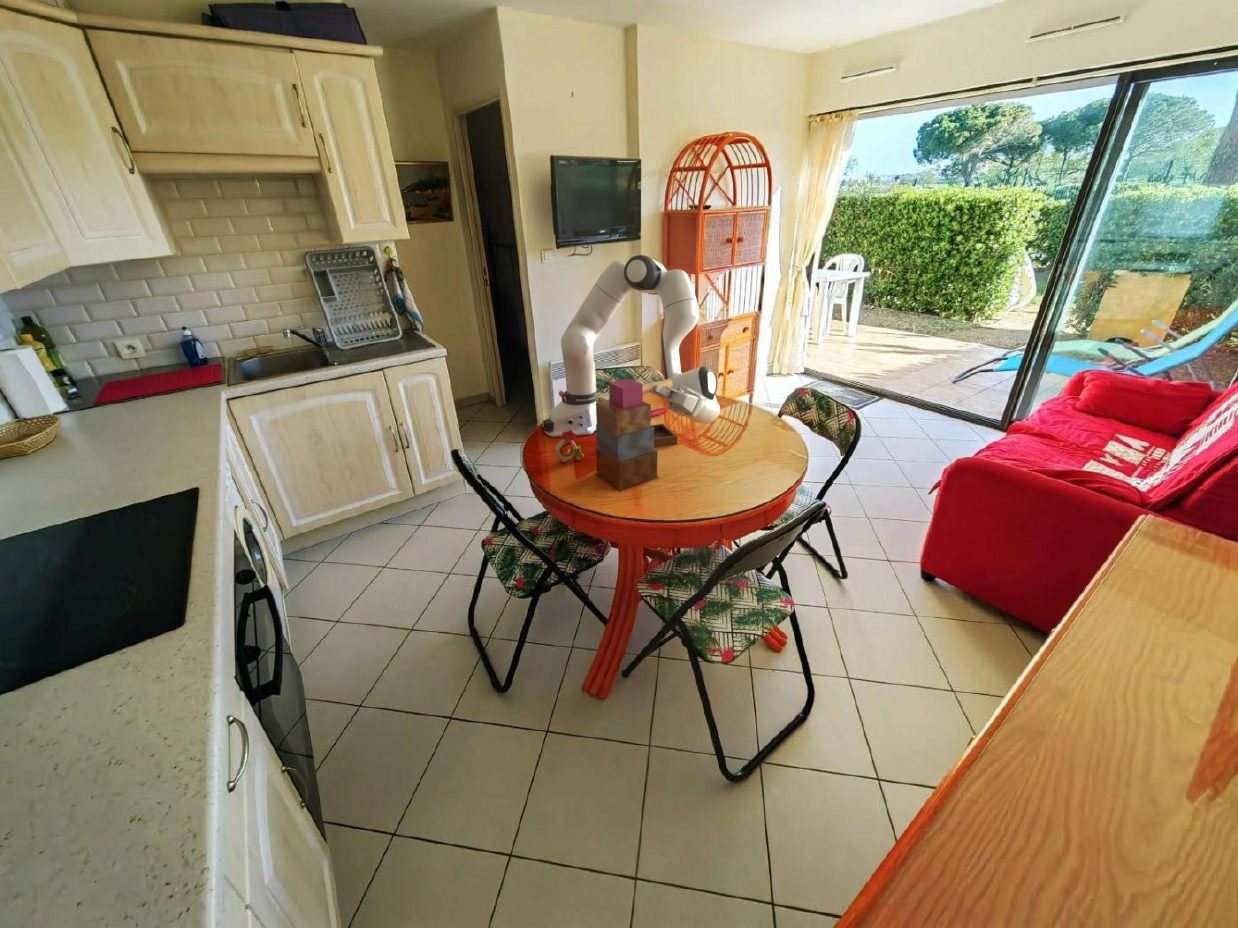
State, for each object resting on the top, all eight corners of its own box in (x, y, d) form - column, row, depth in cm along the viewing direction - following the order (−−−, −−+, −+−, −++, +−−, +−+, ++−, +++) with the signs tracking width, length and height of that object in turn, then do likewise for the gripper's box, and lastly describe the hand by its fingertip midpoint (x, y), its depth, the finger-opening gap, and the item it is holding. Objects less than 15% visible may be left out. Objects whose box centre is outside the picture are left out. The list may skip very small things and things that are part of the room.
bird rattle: (568, 471, 168) (590, 455, 170) (554, 446, 161) (576, 429, 163) (560, 464, 172) (581, 448, 175) (546, 439, 166) (568, 423, 168)
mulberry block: (662, 389, 160) (663, 370, 157) (677, 395, 154) (677, 376, 152) (609, 402, 150) (608, 382, 147) (622, 409, 145) (622, 388, 142)
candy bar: (663, 411, 210) (663, 404, 209) (668, 413, 208) (669, 406, 206) (631, 419, 203) (631, 412, 201) (636, 422, 200) (636, 414, 199)
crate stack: (633, 462, 168) (632, 392, 157) (657, 477, 158) (658, 404, 147) (596, 473, 161) (593, 401, 150) (619, 490, 151) (618, 414, 141)
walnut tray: (632, 450, 176) (632, 442, 175) (621, 437, 187) (621, 429, 185) (676, 443, 181) (677, 436, 179) (662, 430, 191) (663, 423, 190)
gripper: (665, 382, 168) (635, 368, 159) (707, 399, 153) (677, 384, 144) (657, 400, 169) (627, 387, 160) (698, 418, 154) (668, 405, 145)
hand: (651, 386), depth 152 cm, fingers closed on mulberry block, 2 cm apart
